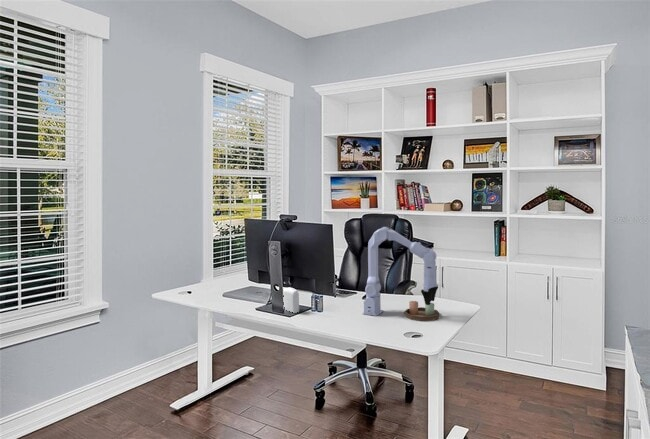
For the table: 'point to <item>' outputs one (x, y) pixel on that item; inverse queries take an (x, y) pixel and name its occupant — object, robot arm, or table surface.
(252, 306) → the table surface
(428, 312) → the sage green bead
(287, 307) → the photo printer
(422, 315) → the tray
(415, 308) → the terracotta bead
